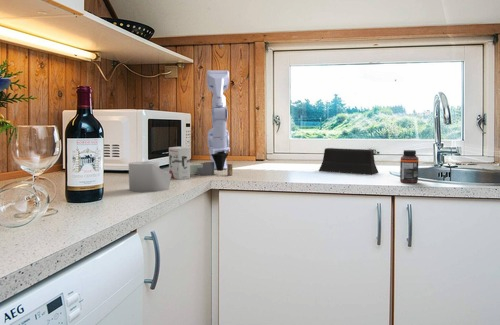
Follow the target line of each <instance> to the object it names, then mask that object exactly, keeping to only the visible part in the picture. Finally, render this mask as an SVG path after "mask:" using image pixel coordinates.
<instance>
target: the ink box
mask: <svg viewBox="0 0 500 325" xmlns="http://www.w3.org/2000/svg"><path fill="white" fill-rule="evenodd" d="M190 150H191V149H190V147H189V146H172V147H168V168H169V169H168V170H169V172H168V173H170V174H172V175H171V179H175V180H176V179H177V180H185V179H187V180H188V179H191V174H190V165H191V164H190V162H191V161H190V160H191V159H190V158H191V154H190Z"/></svg>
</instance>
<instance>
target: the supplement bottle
mask: <svg viewBox="0 0 500 325" xmlns="http://www.w3.org/2000/svg"><path fill="white" fill-rule="evenodd" d="M416 152H417V150H415V149H404V150H403V154H402V156H401V157H400V171H399V180H400V182H401V183H404V184H416V183H418V181H419V157H418V156H417V155H416Z"/></svg>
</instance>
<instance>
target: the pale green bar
mask: <svg viewBox="0 0 500 325" xmlns="http://www.w3.org/2000/svg"><path fill="white" fill-rule="evenodd" d="M199 167H203V164H196V163H195V164H190V175H192V174H197V168H199Z"/></svg>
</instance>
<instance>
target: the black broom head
mask: <svg viewBox="0 0 500 325" xmlns="http://www.w3.org/2000/svg"><path fill="white" fill-rule="evenodd" d="M323 153H324V154H323V158H322V162H321V165H320V167H319V169H318V172H325V173H326V172H327V173H340V174H341V173H342V174H353V175H354V174H355V175H365V176H366V175H367V176H373V175H376V174H379V170H378V167H377V166H376V162H375V155H374V154H375V153H374V150H373V149H366V148H365V149H363V148H361V149H360V148H359V149H358V148H334V147H327V148H324V152H323Z"/></svg>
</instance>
